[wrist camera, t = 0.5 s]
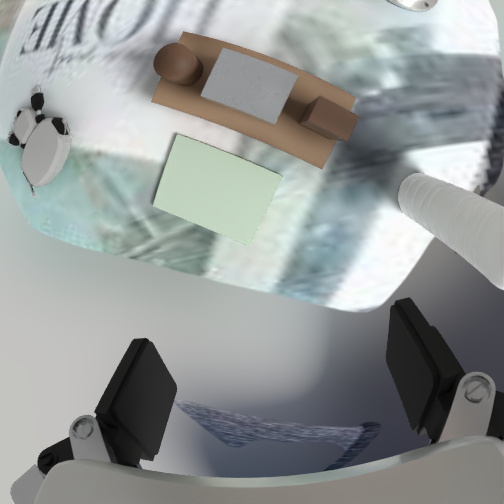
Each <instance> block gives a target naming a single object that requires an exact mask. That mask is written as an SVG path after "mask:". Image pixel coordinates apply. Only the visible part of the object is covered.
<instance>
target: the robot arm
mask: <svg viewBox="0 0 504 504" xmlns="http://www.w3.org/2000/svg"><path fill="white" fill-rule="evenodd" d="M388 1H390V2H391V3H393V4H395V5H397V6H399V7H402V8H404V9H407V10H411V11H417V12H423V11H427V10H430V9H431V8H433V7H434V6H435V5H436V4H437V2H438V0H388ZM386 362H387V365H388V367H389V370H390V372H391V375H392V377H393V380H394V382H395V385H396V387H397V390H398V392H399V395H400V398H401V401H402V403H403V406H404V409H405V411H406V414H407V417H408V420H409V423H410V426H411V428H412V430H417V433H418V435H419V436H420V435H423V434H425V433H427V434H428V436H429V438H430V439H431V440H430V443H429V445H428V446H426V447H422V448H419V449H416V450H412V451H409V452H406V453H403V454H400V455H396V456H393V457H389V458H386V459H382V460H378V461H374V462H370V463H366V464H362V465H357V466H352V467H347V468H343V469H337V470H331V471H325V472H319V473H311V474H303V475H294V476H282V477H267V478H216V477H200V476H187V475H178V474H170V473H163V472H157V471H150V470H145V469H142V467H141V465H140V463H139V461H140V458H141V459H144V460H149V461H153V459H154V456H155V455H157V454H158V452H159V449H160V445H161V442H162V438H163V435H164V432H165V428H166V425H167V422H168V418H169V415H170V412H171V408H172V405H173V402H174V399H175V395H176V392H177V385H176V383H175V381H174V380H173V378H172V376H171V375H170V373H169V371H168V370H167V368H166V366H165V364H164V363H163V360H162V359H161V357H160V355H159V353H158V352H157V350H156V348H155V346H154V344H153V343H152V342H151V341H149V340H148V339H147V338H141V339H133V341H132V342H131V344H130V346H129V348H128V349H127V351H126V353H125V354H124V356H123V358H122V360H121V362H120V364H119V366H118V367H117V369H116V371H115V373H114V375H113V377H112V378H111V380H110V382H109V384H108V386H107V388H106V390H105V392H104V394H103V396H102V397H101V399H100V401H99V403H98V405H97V407H96V409H95V411H94V412H95V413H96V418H94V417H93V416H91V415H83V416H80V417H78V418H77V419H76V420H75V421H74V422H73V423H72V425H71V426H70V430H69V436H70V437H68V438H66V439H64V440H62V441H60V442H58V443H56V444H54V445H52V446H50V447H48V448H46V449H45V450H43V451H42V452H41V453H40V455H39V457H38V466H37V465H34V466H32V467H31V468H30V469H29V470H28V471H27V472H26V473H24V475H22V476H21V477H20V478H19V479H18V480H17V481H15V482H14V483H13V485H12V487H11V496H12V499H13V501H14V503H15V504H504V393H502V392H499V391H495V384H494V382H493V380H492V379H491V377H489V376H487V375H486V374H484V373H481V372H473V373H469V374H467V375H466V374H465V372H464V370H463V369H462V367H461V366H460V364H459V362H458V361H457V359H456V358H455V356H454V354H453V353H452V351H451V350H450V348H449V347H448V345H447V344H446V342H445V340H444V339H443V338H442V336H441V334H440V333H439V332H438V330H437V329H436V328H435V327H434V326H430V325H429V323H428V322H427V321H426V319H425V318H424V316H423V315H422V313H421V312H420V310H419V309H418V308H417V306H416V305H415V303H414V302H413V301H412V299H411V298H404V299H400V300H396V301H395V303H394V305H392V306H391V308H390V322H389V333H388V342H387V351H386Z"/></svg>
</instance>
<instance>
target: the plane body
mask: <svg viewBox="0 0 504 504" xmlns="http://www.w3.org/2000/svg"><path fill="white" fill-rule="evenodd" d="M223 48H226V49H229V50H232V51H235V52H239V53H242V54H245V55H248V56H250V57H253V58H256V59H259V60H262V61H264V62H267V63H270V64H272V65H275V66H277V67H280V68H282V69H285V70H287V71H289V72H292V73H294V74H296V75H298V77H297V79H296V81H295V83H294V86H293V88H292V90H291V92H290V94H289V96H288V98H287V100H286V102H285V104H284V107H283V109H282V111H281V113H280V115H279V117H278V119H277V121H276V124H275V125H274V126H272V125H270V124H267V123H265V122H263V121H260V120H258V119H255V118H253V117H250V116H248V115H245V114H243V113H240V112H238V111H235V110H232V109H230V108H227V107H224V106H221V105H219V104H216V103H213V102H211V101H209V100H207V99H205V98H203V97H202V96H201V93H202V91H203V89H204V87H205V84H206V82H207V80H208V78H209V76H210V74H211V72H212V69H213V67H214V65H215V63H216V61H217V59H218V57H219V55H220V53H221V51H222V49H223ZM154 69H155V71H156V73H157V74H158V75H160V76H162V77H161V79H160V82H159V84H158V86H157V89H156V91H155V94H154V96H153V99H152V101H151V102H153V103H157V104H160V105H163V106H166V107H170V108H173V109H176V110H179V111H182V112H185V113H188V114H191V115H194V116H197V117H200V118H203V119H205V120H208V121H211V122H214V123H216V124H219V125H222V126H224V127H227V128H230V129H232V130H235V131H237V132H240V133H242V134H245V135H247V136H250V137H252V138H255V139H257V140H259V141H262V142H264V143H266V144H269V145H271V146H273V147H276V148H278V149H280V150H282V151H285V152H287V153H289V154H291V155H293V156H295V157H298V158H300V159H302V160H304V161H306V162H308V163H310V164H312V165H314V166H316V167H318V168H320V169H323V167H324V165H325V163H326V161H327V159H328V157H329V155H330V153H331V151H332V149H333V146H334V144H335V142H336V140H341V141H348V140H349V138H350V136H351V133H352V131H353V129H354V127H355V125H356V123H357V121H358V119H359V116H358V115H356V114H354V113H352V112H351V111H350V110H351V108H352V106H353V104H354V102H355V100H356V97H354V96H352V95H351V94H349V93H347V92H345V91H343V90H341V89H340V88H338V87H336V86H334V85H332V84H330V83H328V82H326V81H324V80H322V79H320V78H318V77H316V76H313V75H311V74H309V73H307V72H305V71H303V70H300V69H298V68H296V67H293V66H291V65H289V64H286V63H284V62H281V61H279V60H276V59H274V58H271V57H269V56H266V55H263V54H260V53H258V52H255V51H252V50H249V49H246V48H243V47H240V46H237V45H234V44H230V43H227V42H223V41H220V40H216V39H213V38H209V37H205V36H201V35H197V34H193V33H188V32H183V33H182V35H181V37H180V39H179V41H178V43H172V44H169V45H166V46H164V47H163V48H161V49H160V50H159V51H158V53H157V54H156V56H155V58H154Z"/></svg>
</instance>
